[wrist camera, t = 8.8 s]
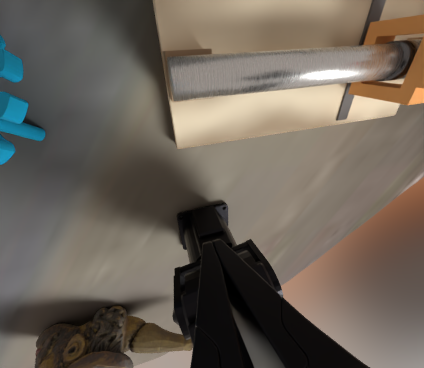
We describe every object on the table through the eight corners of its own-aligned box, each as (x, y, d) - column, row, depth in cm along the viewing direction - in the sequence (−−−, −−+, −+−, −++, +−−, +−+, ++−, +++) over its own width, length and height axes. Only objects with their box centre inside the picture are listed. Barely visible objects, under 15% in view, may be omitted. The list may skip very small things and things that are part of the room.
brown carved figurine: (27, 320, 27) (-22, 433, 19) (184, 278, 32) (197, 354, 24) (57, 345, 32) (27, 443, 24) (188, 305, 37) (200, 375, 29)
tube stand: (382, 112, 25) (444, 127, 20) (175, 143, 19) (186, 175, 14) (440, -24, 18) (557, -55, 13) (147, -33, 13) (148, -92, 8)
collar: (364, 91, 20) (461, 107, 14) (348, 93, 19) (439, 111, 13) (389, 21, 17) (527, 3, 11) (370, 22, 16) (502, 3, 10)
